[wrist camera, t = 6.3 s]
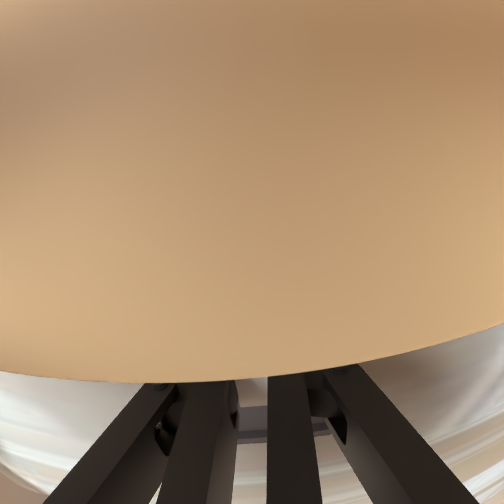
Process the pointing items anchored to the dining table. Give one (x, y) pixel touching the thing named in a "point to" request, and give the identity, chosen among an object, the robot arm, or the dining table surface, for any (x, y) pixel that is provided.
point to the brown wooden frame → (246, 184)
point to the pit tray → (256, 425)
